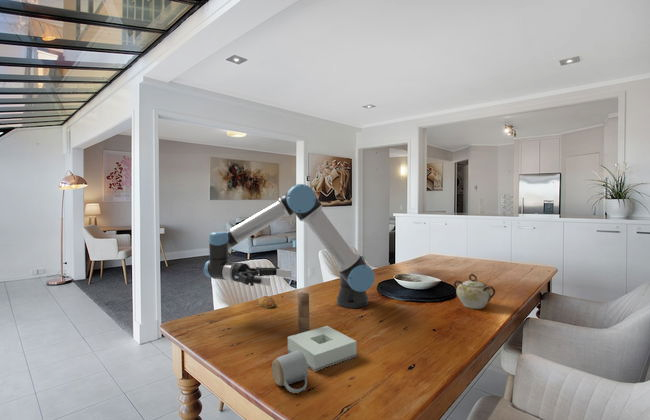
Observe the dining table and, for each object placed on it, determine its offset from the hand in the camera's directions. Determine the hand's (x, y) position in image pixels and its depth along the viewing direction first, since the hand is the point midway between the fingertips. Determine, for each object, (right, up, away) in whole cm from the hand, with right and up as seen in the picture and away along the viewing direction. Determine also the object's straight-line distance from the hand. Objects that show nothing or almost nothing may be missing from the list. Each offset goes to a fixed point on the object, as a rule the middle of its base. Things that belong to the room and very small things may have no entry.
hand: (280, 277), depth 123 cm
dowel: (+9, -21, -4) cm, 23 cm away
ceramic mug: (+8, -22, -33) cm, 41 cm away
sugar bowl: (+85, -20, +30) cm, 93 cm away
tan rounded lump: (-11, -20, +34) cm, 41 cm away
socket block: (+15, -21, -16) cm, 31 cm away
